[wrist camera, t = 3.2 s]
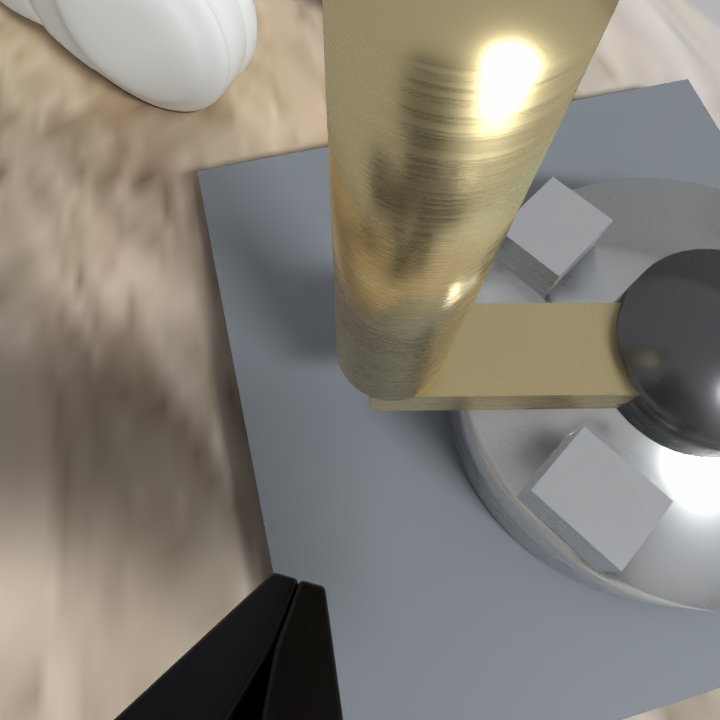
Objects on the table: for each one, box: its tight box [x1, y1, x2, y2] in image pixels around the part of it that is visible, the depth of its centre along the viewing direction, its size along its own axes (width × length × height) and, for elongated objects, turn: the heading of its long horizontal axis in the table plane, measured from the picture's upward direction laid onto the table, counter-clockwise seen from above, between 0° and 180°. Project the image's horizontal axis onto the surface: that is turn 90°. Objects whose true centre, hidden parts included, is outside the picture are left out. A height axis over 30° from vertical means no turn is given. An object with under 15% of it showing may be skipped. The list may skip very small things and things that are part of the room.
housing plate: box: [197, 79, 720, 720], centre depth 19 cm, size 20×20×2 cm
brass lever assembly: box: [322, 0, 720, 612], centre depth 11 cm, size 15×12×13 cm
